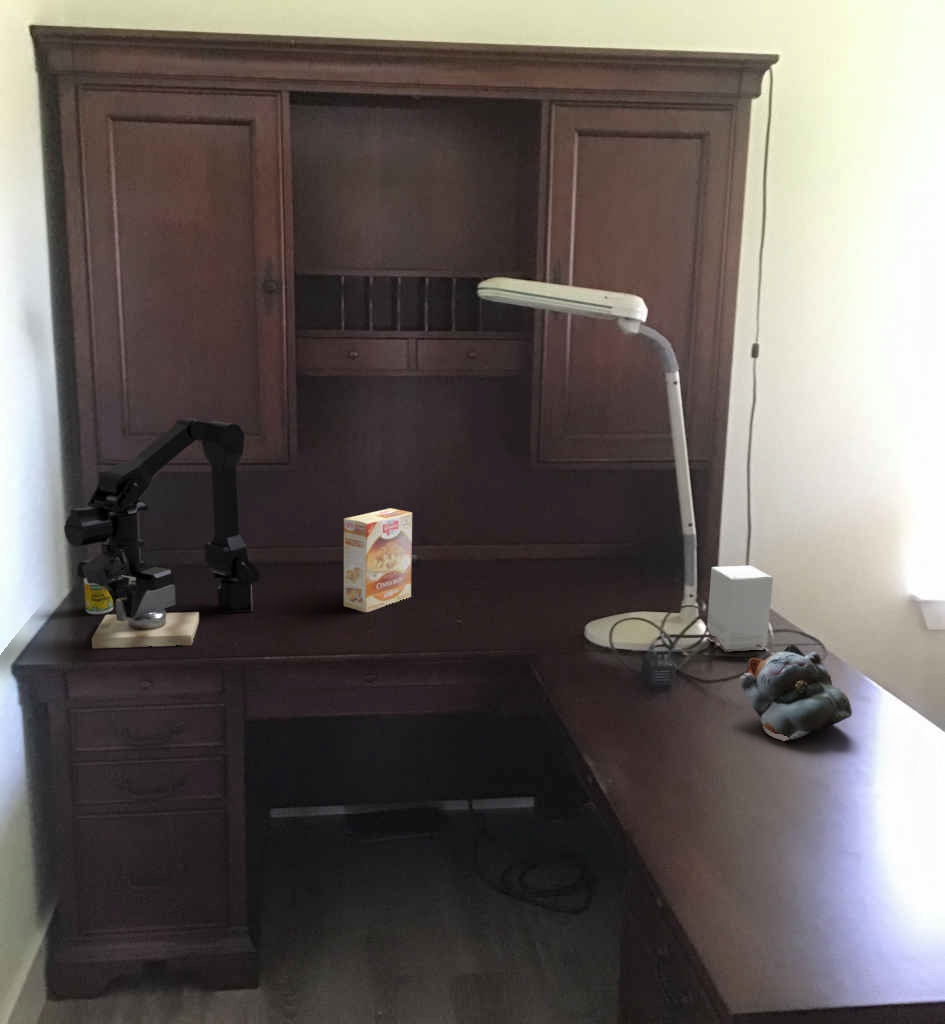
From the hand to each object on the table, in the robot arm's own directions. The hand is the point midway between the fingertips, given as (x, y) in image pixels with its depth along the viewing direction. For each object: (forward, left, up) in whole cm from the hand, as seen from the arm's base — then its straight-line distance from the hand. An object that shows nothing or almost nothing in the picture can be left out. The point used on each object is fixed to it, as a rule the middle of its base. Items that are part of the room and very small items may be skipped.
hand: (126, 616), depth 192 cm
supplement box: (-117, +13, -5) cm, 118 cm away
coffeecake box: (-49, -21, -5) cm, 54 cm away
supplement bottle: (+9, -20, -5) cm, 22 cm away
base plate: (-3, -4, -5) cm, 7 cm away
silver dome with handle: (-3, -4, -3) cm, 6 cm away
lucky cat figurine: (-110, +51, -5) cm, 121 cm away
